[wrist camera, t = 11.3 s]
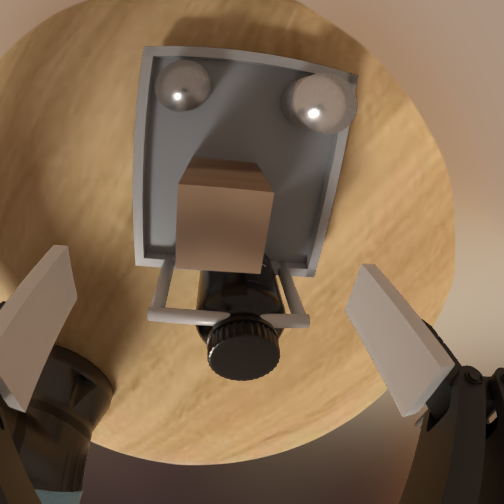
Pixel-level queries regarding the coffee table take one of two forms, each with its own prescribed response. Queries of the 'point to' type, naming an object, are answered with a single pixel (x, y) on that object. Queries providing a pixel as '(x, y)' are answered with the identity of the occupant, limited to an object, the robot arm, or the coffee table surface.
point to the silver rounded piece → (319, 103)
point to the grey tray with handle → (237, 149)
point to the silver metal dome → (183, 86)
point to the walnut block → (222, 216)
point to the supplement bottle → (241, 321)
